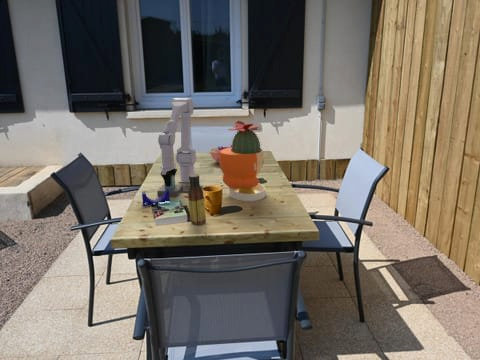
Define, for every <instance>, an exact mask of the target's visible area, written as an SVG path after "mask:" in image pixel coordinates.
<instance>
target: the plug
mask: <svg viewBox="0 0 480 360" xmlns="http://www.w3.org/2000/svg"><path fill="white" fill-rule="evenodd" d="M175 176H176V174H175V175H172V177H171V186H170V187H167V186H166V185H165V182H164V181H163V183H164V184H163V185H165V189H174V188H175V185H176V180H175V179H176V178H175Z"/></svg>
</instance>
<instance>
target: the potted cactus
mask: <svg viewBox="0 0 480 360" xmlns="http://www.w3.org/2000/svg"><path fill="white" fill-rule="evenodd" d="M232 127H233V128H228V131H236V133H234V136H233V138H232V143H231V145H232V147H230V146H229V147H230V148H226V149H223V150H221V151H220V156H219V168H220V171H221V172H222V174H223V175H222V182H223V183H224V185H226V187H228V195H229V196H230V197H231V198H233V199H235V200H238V201H242V202H243V201H244V202H255V201H260V200H263V199H264V198H265V197H266V186H265V185H263V184H261V183H260V180H259V178H258V177H257V175H259V174H260V173H261V170H262V169H263V165H264V161H265V159H264V158H265V157H264V156H265V155H264V149H262V147H261V146H262V144H261V141H260V138H259V136H258V135H257V132H256V131H258V130H262V128H261V127H260V126H259V125H258V124H254V123H253V122H252V123H245V122H244V121H241V120H237V121H236V122H235V123H234V125H233V126H232Z"/></svg>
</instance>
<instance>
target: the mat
mask: <svg viewBox="0 0 480 360" xmlns="http://www.w3.org/2000/svg"><path fill="white" fill-rule="evenodd" d="M200 187H201V188H202V187H203V188H204V186H203V185H200ZM189 188H190V185H185V186H183V190H182V191H181V193H185V194H186V193H187V194H188V190H189ZM203 188H202V189H203Z"/></svg>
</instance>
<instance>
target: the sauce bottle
mask: <svg viewBox="0 0 480 360" xmlns="http://www.w3.org/2000/svg"><path fill="white" fill-rule="evenodd" d="M189 180H190V182H189V186H190V188H189V190H188V193H187V196H188V197H187V198H188V200H187V202H188V208H189V220H190V223H191V224H192V225H195V226H200V225H204V224H205V223H206V222H207V220H206V219H207V215H206V206H205V205H206V204H205V196H204V190H203V188H201V187H200V186H201V185H200V174H197V173H195V174H192V175H189Z"/></svg>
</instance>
